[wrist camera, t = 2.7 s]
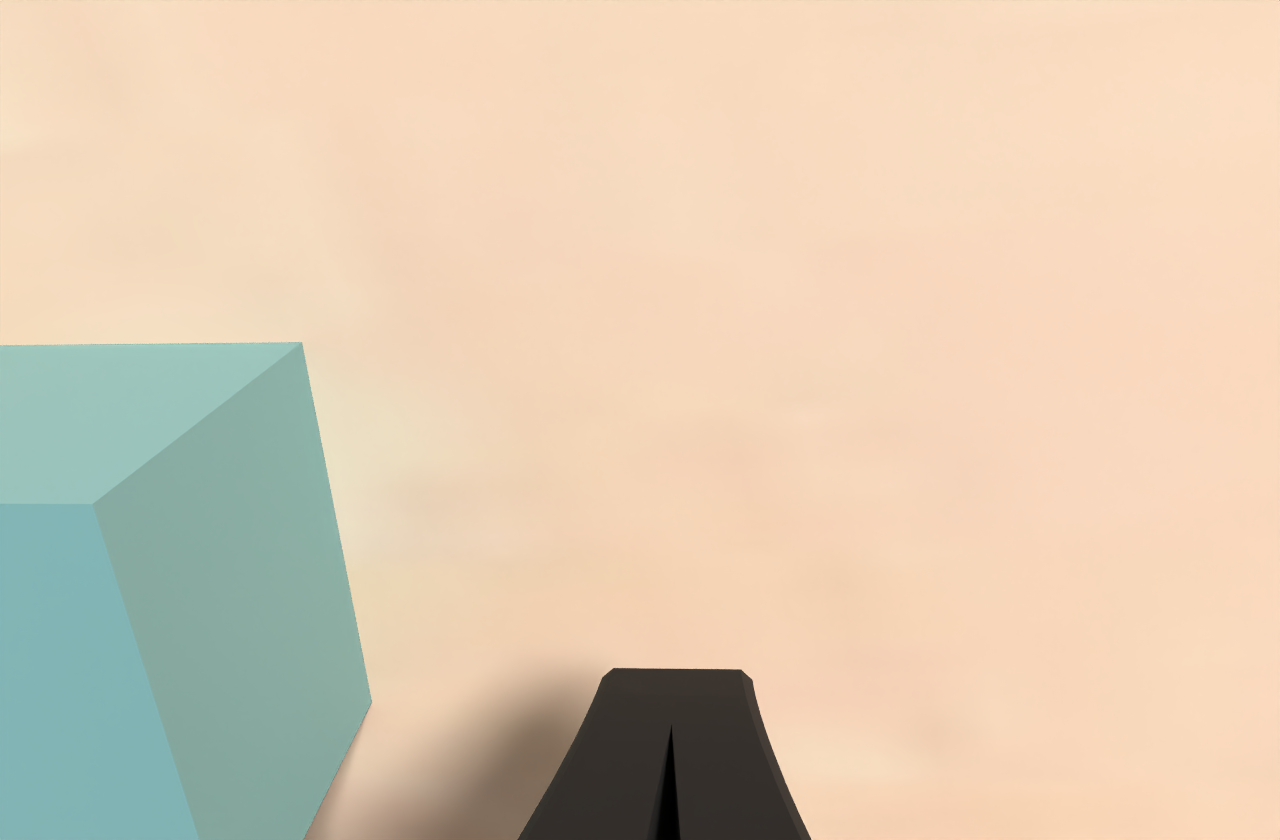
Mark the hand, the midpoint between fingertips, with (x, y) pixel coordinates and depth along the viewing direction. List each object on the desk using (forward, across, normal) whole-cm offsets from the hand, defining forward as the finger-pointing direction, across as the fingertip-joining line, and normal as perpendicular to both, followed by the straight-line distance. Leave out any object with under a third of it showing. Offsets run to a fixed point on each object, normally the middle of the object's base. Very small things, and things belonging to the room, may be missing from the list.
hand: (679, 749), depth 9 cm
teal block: (+4, +8, 0) cm, 9 cm away
